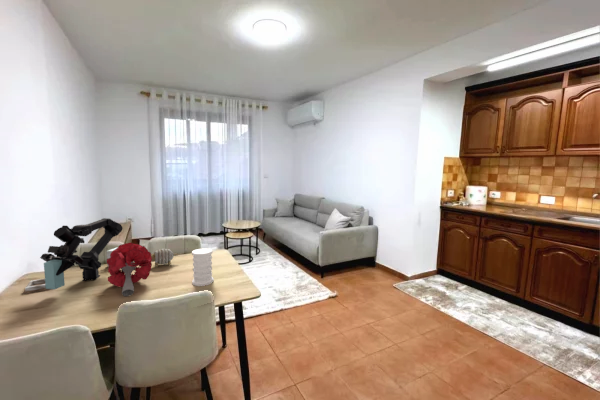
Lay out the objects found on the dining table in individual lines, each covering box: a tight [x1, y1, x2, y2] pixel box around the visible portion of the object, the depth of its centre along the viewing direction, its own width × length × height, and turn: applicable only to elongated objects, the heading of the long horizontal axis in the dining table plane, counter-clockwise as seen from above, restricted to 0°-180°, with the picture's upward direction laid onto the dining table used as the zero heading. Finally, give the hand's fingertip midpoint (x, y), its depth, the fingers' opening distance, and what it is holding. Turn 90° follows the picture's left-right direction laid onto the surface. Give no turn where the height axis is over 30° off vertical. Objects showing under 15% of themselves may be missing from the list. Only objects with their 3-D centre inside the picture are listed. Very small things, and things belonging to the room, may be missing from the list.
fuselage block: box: [43, 260, 66, 290], centre depth 137 cm, size 5×5×13 cm
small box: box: [106, 246, 119, 267], centre depth 181 cm, size 8×6×10 cm
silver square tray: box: [22, 278, 50, 295], centre depth 147 cm, size 12×12×3 cm
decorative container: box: [191, 247, 215, 287], centre depth 157 cm, size 12×12×18 cm
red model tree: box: [106, 242, 153, 297], centre depth 148 cm, size 22×24×30 cm
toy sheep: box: [151, 248, 179, 268], centre depth 182 cm, size 11×17×11 cm, turn 127°
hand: (51, 275), depth 136 cm, fingers closed on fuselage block, 5 cm apart
